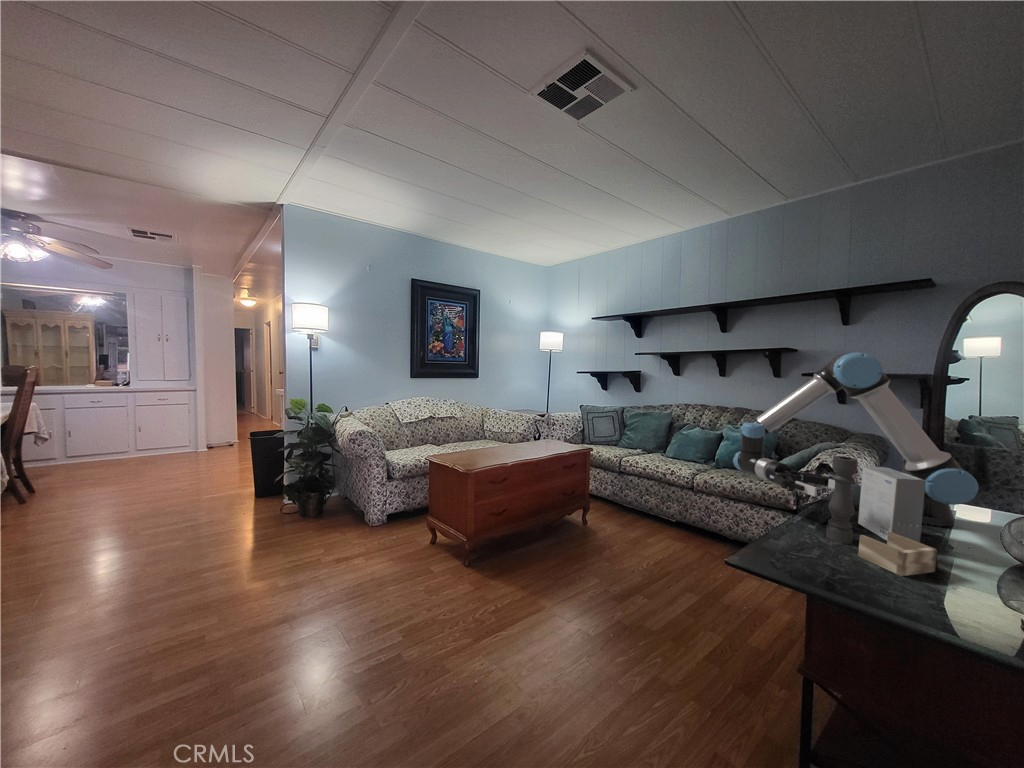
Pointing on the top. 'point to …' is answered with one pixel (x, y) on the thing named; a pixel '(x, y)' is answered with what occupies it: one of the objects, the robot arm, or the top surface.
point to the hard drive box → (891, 502)
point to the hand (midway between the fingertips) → (833, 490)
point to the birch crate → (898, 554)
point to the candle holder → (842, 500)
